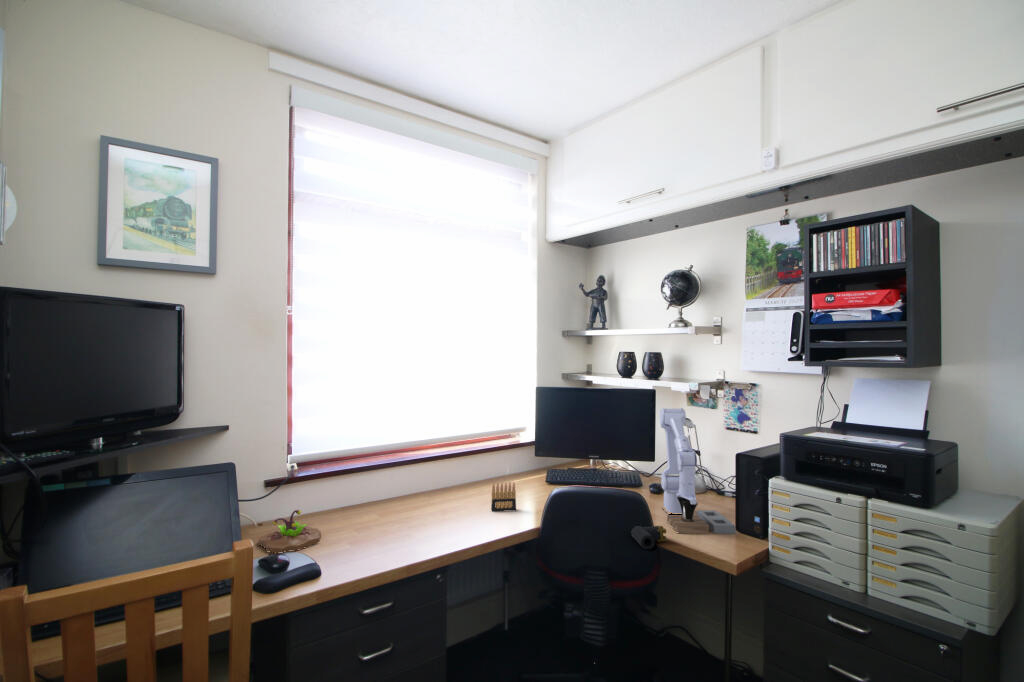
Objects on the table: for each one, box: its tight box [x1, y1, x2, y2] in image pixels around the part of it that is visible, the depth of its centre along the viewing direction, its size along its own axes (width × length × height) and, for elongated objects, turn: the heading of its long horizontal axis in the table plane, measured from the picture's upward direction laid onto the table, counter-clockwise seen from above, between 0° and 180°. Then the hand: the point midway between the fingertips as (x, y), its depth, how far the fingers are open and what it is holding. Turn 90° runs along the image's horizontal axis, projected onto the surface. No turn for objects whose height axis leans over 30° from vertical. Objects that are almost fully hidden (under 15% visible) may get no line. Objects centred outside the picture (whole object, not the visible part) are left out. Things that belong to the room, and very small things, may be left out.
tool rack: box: [696, 509, 737, 535], centre depth 195 cm, size 18×8×3 cm, turn 0°
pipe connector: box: [630, 525, 667, 550], centre depth 179 cm, size 12×5×15 cm
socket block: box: [666, 514, 710, 534], centre depth 192 cm, size 12×12×3 cm
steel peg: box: [683, 506, 692, 522], centre depth 192 cm, size 3×3×9 cm
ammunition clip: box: [490, 481, 517, 512], centre depth 214 cm, size 11×2×12 cm, turn 98°
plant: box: [257, 509, 322, 554], centre depth 178 cm, size 20×20×11 cm
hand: (687, 517), depth 192 cm, fingers open, 3 cm apart
